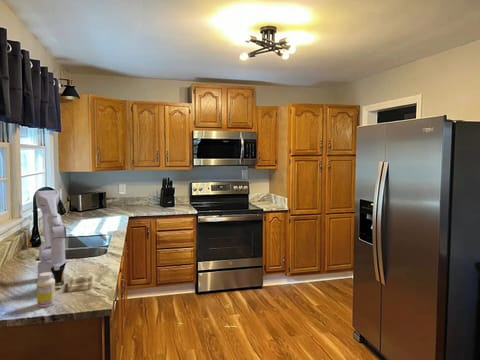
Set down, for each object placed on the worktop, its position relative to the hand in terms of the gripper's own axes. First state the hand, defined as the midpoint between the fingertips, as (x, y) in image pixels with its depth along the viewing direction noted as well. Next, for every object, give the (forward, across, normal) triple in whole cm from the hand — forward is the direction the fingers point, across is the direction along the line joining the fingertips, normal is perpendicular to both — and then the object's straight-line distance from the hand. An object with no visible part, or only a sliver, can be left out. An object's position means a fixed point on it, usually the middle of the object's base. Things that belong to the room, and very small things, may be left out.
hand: (58, 280), depth 164 cm
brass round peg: (+2, 0, 0) cm, 2 cm away
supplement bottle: (+4, -18, +3) cm, 18 cm away
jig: (+4, 0, -9) cm, 10 cm away
